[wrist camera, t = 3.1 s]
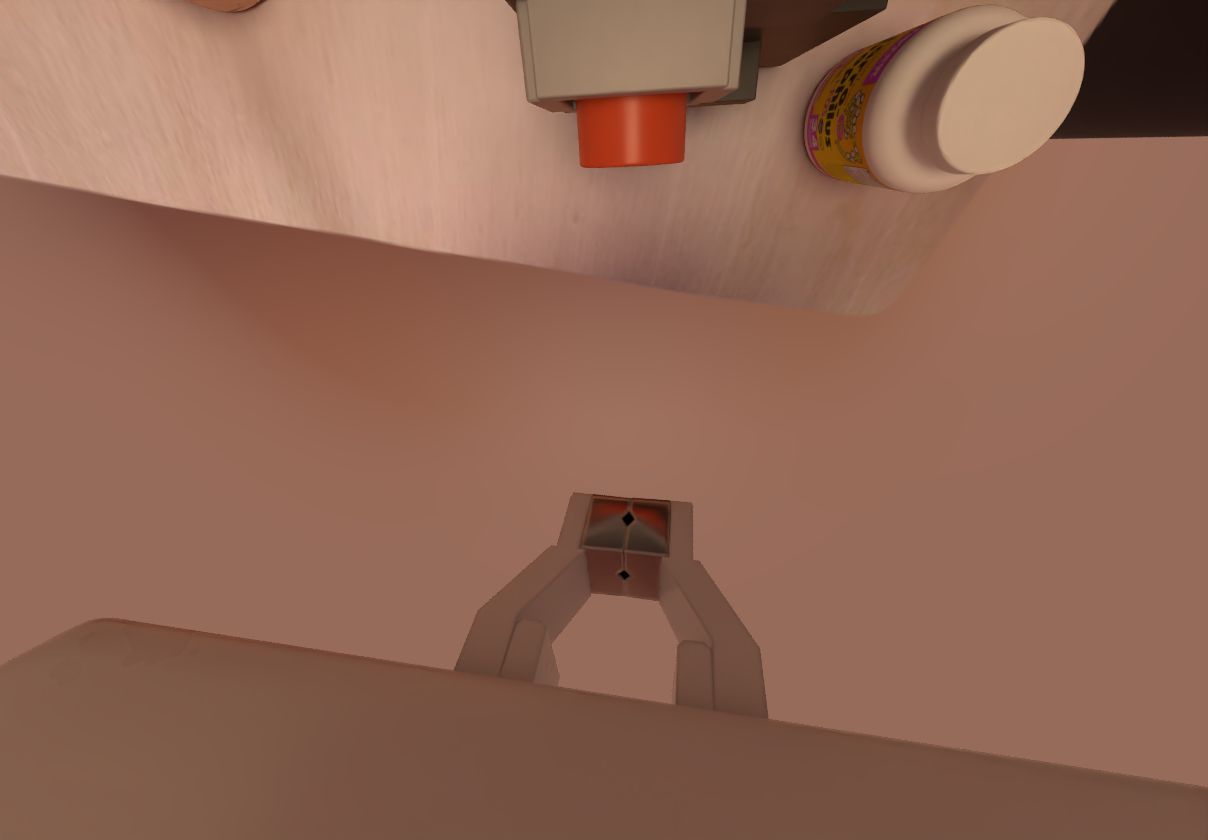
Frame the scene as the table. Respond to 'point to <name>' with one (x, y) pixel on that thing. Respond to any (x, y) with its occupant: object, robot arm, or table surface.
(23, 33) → the table surface
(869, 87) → the supplement bottle
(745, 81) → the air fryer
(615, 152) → the power button
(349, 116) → the table surface
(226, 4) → the teacup with lid
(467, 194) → the table surface
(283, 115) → the table surface
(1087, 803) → the robot arm
